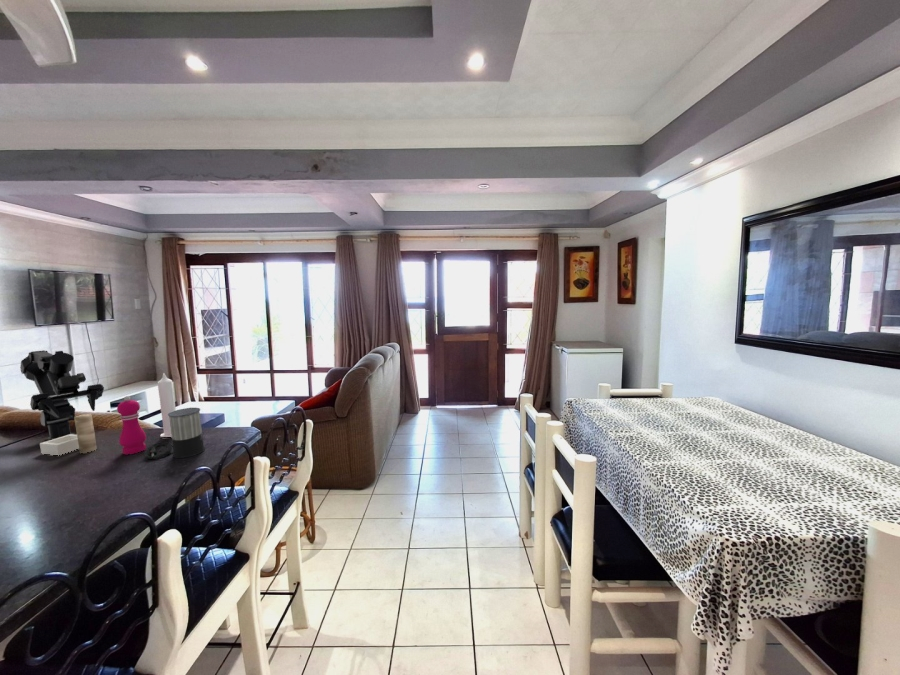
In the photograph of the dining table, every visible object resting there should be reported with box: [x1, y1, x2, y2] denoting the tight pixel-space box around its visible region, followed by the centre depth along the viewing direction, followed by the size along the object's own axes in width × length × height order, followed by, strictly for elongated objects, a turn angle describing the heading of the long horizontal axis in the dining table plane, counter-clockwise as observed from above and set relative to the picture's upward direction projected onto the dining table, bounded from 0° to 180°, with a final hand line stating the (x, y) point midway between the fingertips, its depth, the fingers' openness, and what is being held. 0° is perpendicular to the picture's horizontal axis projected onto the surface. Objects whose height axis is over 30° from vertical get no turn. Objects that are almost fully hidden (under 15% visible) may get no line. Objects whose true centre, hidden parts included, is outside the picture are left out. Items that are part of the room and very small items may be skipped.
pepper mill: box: [116, 395, 147, 456], centre depth 130 cm, size 7×7×20 cm
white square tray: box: [39, 434, 79, 457], centre depth 134 cm, size 9×9×4 cm
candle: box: [157, 372, 177, 438], centre depth 145 cm, size 7×7×25 cm
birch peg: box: [74, 413, 98, 454], centre depth 132 cm, size 4×4×13 cm
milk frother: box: [143, 407, 206, 460], centre depth 127 cm, size 14×16×15 cm
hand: (77, 413), depth 134 cm, fingers open, 9 cm apart
